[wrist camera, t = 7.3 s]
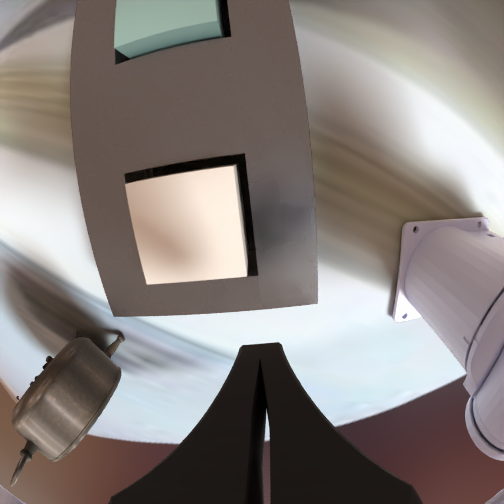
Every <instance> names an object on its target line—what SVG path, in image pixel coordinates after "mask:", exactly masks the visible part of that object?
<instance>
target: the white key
mask: <svg viewBox="0 0 504 504" xmlns="http://www.w3.org/2000/svg"><path fill="white" fill-rule="evenodd" d="M125 187H126V193H127V199H128V205H129V210H130V215H131V220H132V225H133V230H134V234H135V239H136V243H137V248H138V252H139V256H140V260H141V264H142V268H143V272H144V276H145V279H146V283H147V285H148V284H162V283H176V282H189V281H201V280H213V279H225V278H236V277H247V267H248V250H249V247H248V238H247V230H246V221H245V213H244V204H243V196H242V187H241V178H240V170H239V163H238V164H230V165H222V166H214V167H207V168H200V169H194V170H188V171H181V172H176V173H170V174H164V175H159V176H154V177H150V178H146V179H142V180H138V181H135V182H131V183H128V184H125Z"/></svg>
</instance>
